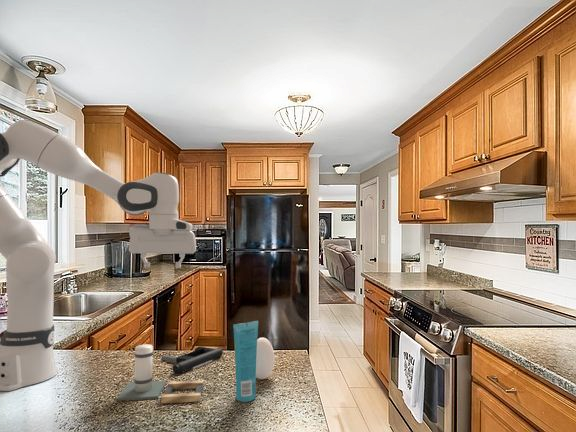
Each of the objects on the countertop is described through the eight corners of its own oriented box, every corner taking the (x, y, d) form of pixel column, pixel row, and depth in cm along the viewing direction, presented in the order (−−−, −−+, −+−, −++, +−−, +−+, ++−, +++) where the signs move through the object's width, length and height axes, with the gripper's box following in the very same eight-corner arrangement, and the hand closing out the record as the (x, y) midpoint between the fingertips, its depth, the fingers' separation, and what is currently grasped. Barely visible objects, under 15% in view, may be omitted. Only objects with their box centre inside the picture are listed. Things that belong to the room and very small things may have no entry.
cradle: (161, 403, 91) (161, 397, 91) (168, 387, 101) (168, 381, 101) (199, 401, 92) (200, 395, 93) (203, 385, 102) (203, 380, 102)
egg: (249, 374, 111) (249, 334, 111) (273, 373, 111) (274, 334, 112) (248, 384, 103) (249, 341, 104) (275, 383, 104) (275, 341, 104)
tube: (251, 390, 99) (252, 318, 100) (262, 396, 95) (263, 321, 96) (227, 399, 94) (229, 323, 95) (239, 406, 90) (240, 326, 91)
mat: (116, 400, 92) (117, 398, 93) (128, 384, 102) (128, 382, 102) (158, 398, 94) (158, 396, 94) (165, 382, 104) (166, 380, 104)
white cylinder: (131, 392, 96) (132, 349, 96) (136, 385, 100) (137, 344, 101) (150, 391, 96) (151, 348, 97) (154, 384, 101) (154, 343, 101)
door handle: (146, 358, 117) (181, 365, 109) (193, 343, 134) (227, 348, 125) (146, 369, 117) (181, 377, 108) (193, 352, 134) (227, 358, 125)
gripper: (126, 223, 112) (125, 269, 112) (195, 224, 115) (194, 268, 114) (132, 223, 119) (131, 267, 118) (197, 224, 121) (196, 267, 121)
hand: (162, 268), depth 116 cm, fingers open, 8 cm apart
